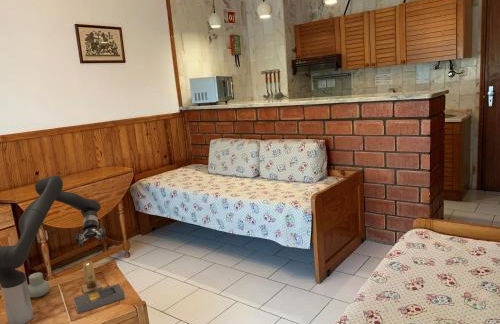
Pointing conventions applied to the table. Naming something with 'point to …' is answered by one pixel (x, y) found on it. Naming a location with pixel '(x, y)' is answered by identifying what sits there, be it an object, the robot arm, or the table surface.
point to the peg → (89, 274)
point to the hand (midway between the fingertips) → (90, 243)
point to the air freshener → (37, 285)
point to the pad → (86, 290)
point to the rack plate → (98, 298)
